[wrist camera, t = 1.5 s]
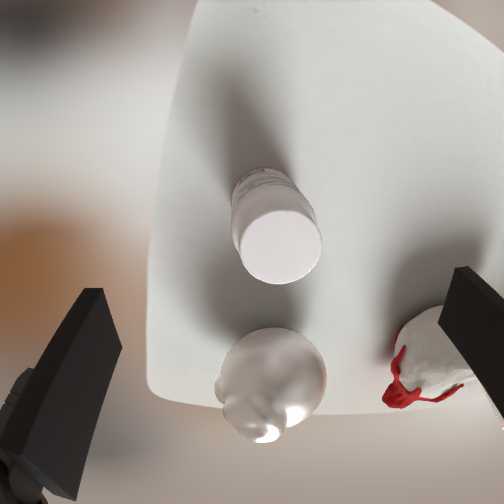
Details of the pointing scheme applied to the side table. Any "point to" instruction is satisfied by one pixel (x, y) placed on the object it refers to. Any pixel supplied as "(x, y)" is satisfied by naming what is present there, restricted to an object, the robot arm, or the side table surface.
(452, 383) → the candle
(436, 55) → the side table surface
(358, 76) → the side table surface
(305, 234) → the pill bottle
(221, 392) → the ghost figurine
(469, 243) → the side table surface
